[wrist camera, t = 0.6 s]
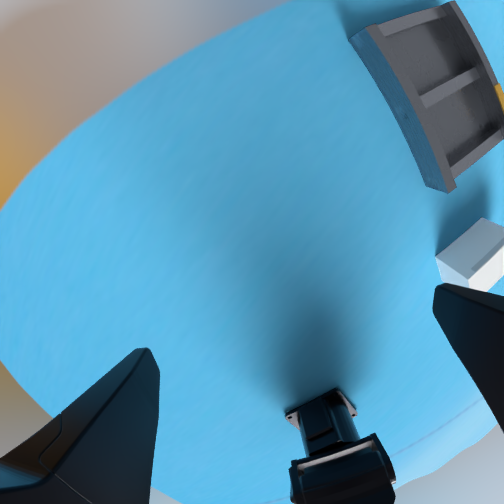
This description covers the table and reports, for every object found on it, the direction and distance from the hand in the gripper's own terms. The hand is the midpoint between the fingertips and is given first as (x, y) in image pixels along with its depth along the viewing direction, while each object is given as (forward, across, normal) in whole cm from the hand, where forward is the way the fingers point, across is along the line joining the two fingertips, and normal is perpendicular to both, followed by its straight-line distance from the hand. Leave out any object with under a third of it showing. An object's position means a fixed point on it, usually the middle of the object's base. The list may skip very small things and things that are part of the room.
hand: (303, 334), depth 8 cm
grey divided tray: (+13, -16, -9) cm, 23 cm away
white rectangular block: (+14, -19, +6) cm, 24 cm away
